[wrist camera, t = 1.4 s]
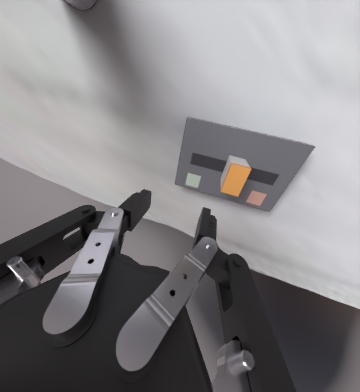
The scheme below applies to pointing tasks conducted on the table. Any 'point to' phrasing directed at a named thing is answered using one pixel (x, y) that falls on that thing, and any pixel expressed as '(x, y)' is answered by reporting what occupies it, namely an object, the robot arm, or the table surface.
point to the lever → (234, 175)
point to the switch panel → (243, 148)
